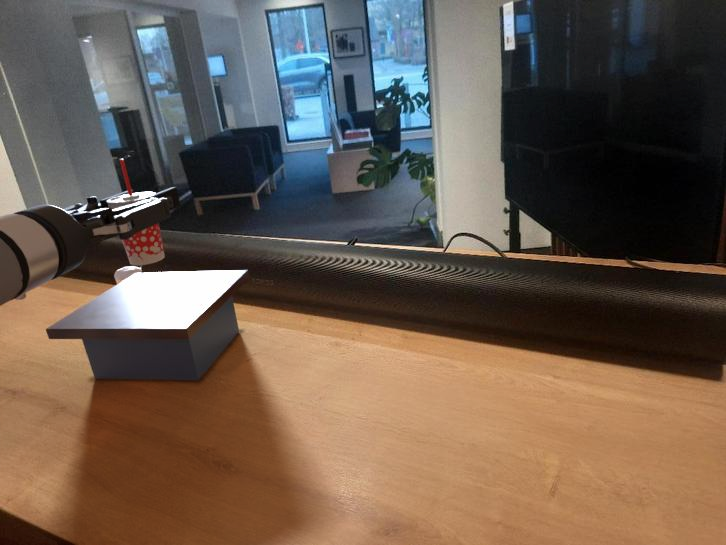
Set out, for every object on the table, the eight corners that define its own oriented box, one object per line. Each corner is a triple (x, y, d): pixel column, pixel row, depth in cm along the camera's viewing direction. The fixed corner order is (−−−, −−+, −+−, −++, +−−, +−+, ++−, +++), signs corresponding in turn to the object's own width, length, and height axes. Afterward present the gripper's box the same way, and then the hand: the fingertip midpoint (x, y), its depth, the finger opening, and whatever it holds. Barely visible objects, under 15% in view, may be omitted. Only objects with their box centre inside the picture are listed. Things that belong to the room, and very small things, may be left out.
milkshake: (161, 311, 91) (148, 259, 87) (132, 322, 87) (117, 269, 83) (150, 305, 94) (137, 255, 90) (121, 316, 90) (106, 264, 86)
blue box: (94, 378, 70) (78, 328, 67) (149, 331, 83) (137, 287, 80) (198, 380, 67) (186, 328, 64) (239, 331, 80) (230, 286, 77)
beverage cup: (174, 259, 68) (149, 157, 63) (126, 270, 66) (97, 164, 61) (166, 249, 73) (142, 154, 68) (121, 259, 71) (94, 160, 66)
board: (48, 339, 65) (45, 329, 64) (137, 281, 83) (135, 272, 83) (189, 339, 61) (186, 328, 60) (249, 278, 79) (247, 269, 79)
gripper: (-35, 285, 53) (103, 225, 75) (123, 280, 50) (221, 219, 71) (-63, 217, 51) (89, 176, 72) (102, 207, 47) (210, 167, 68)
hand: (154, 197), depth 71 cm, fingers closed on beverage cup, 6 cm apart
